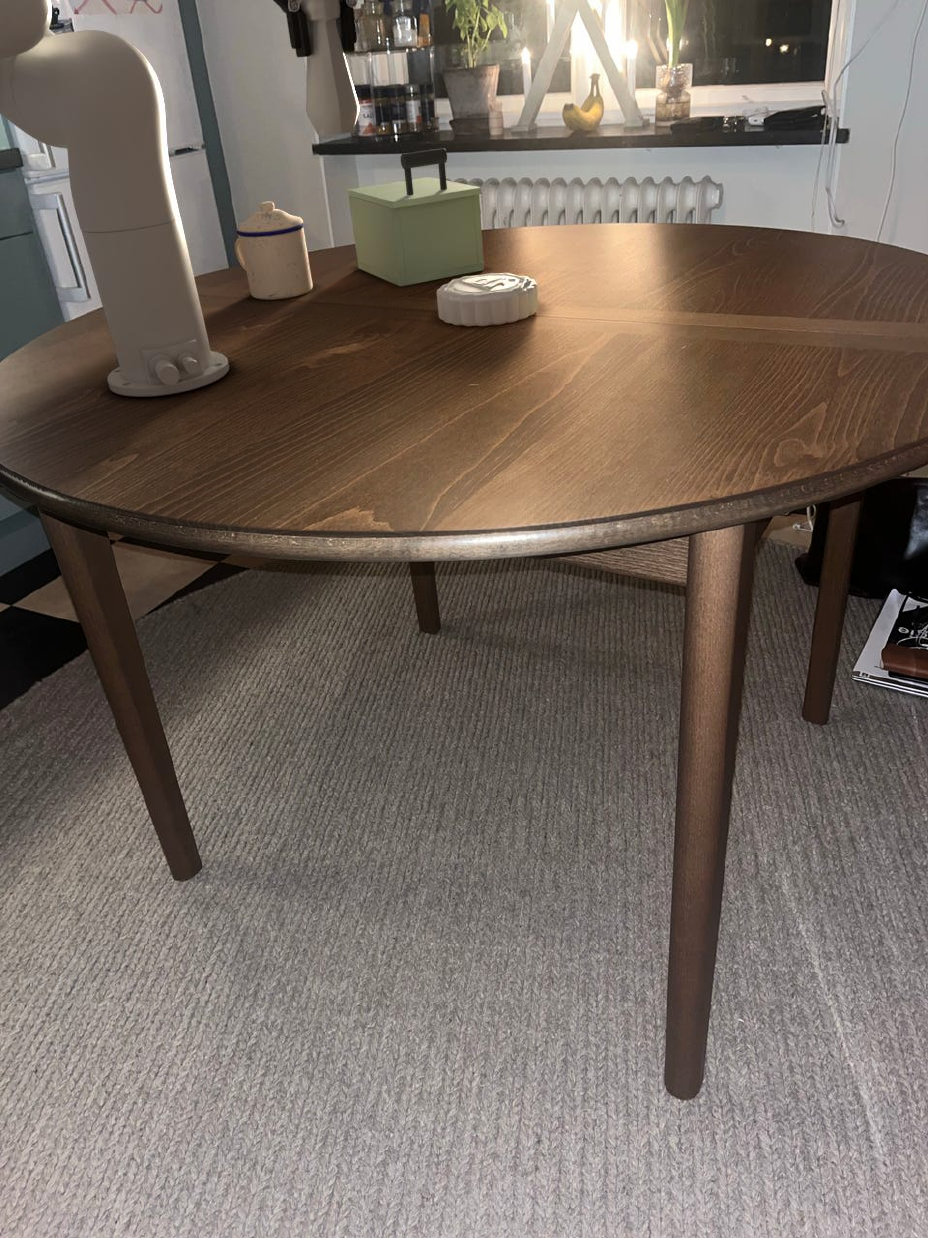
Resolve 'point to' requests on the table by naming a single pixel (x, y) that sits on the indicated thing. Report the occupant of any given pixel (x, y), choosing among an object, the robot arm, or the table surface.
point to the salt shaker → (328, 72)
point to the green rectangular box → (418, 239)
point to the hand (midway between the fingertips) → (325, 52)
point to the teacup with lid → (274, 254)
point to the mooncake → (487, 299)
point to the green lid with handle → (416, 184)
